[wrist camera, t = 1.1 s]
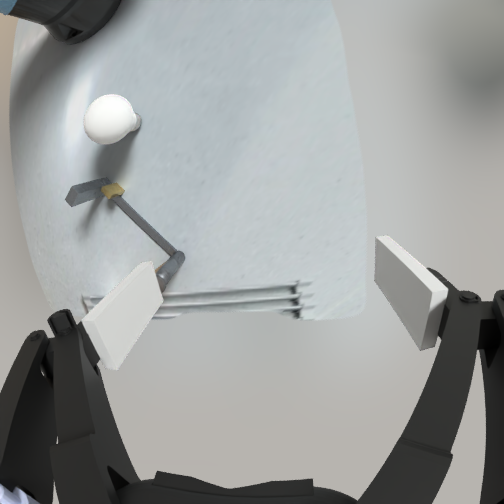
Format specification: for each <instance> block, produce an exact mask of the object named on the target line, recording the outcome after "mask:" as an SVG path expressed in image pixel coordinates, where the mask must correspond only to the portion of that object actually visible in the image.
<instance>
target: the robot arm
mask: <svg viewBox="0 0 504 504" xmlns="http://www.w3.org/2000/svg"><path fill="white" fill-rule="evenodd" d="M120 1H121V0H0V13H3V14H4V15H10V16H14V17H18V18H21V19H25V20H28V21H32V22H35V23H38V24H41V25H44V26H45V28H46V29H47V30H48V31H49V32H50V33H51V34H52V36H53V37H54V38H55V39H56V40H58V41H60V42H63V43H66V44H75V43H79V42H81V41H84V40H86V39H87V38H89V37H91V36H92V35H93V34H95V33H96V32H97V31H98V30H100V29H101V28H102V27H103V26H104V25H105V24H106V23H107V22H108V20H109V19H110V18H111V17H112V15H113V14H114V13H115V11H116V10H117V8H118V6H119V4H120ZM375 248H376V249H375V280H374V281H375V282H376V284H377V285H378V286H379V288H380V289H381V291H382V292H383V294H384V295H385V297H386V298H387V300H388V301H389V302H390V304H391V306H392V307H393V309H394V310H395V312H396V313H397V315H398V316H399V318H400V319H401V321H402V323H403V324H404V326H405V327H406V329H407V330H408V332H409V334H410V335H411V337H412V339H413V340H414V342H415V343H416V345H417V347H418V348H419V350H420V351H421V350H425V349H428V348H432V347H435V344H436V341H437V337H438V336H439V337H440V338H441V343H440V346H439V350H438V353H437V356H436V358H435V361H434V364H433V367H432V369H431V372H430V375H429V377H428V380H427V382H426V385H425V387H424V389H423V392H422V394H421V396H420V399H419V401H418V403H417V405H416V407H415V409H414V411H413V414H412V416H411V418H410V420H409V422H408V424H407V426H406V427H405V429H404V431H403V433H402V435H401V437H400V438H399V440H398V441H397V443H396V445H395V446H394V448H393V450H392V452H391V453H390V455H389V457H388V458H387V460H386V461H385V463H384V465H383V466H382V468H381V469H380V471H379V472H378V474H377V475H376V477H375V478H374V480H373V481H372V482H371V484H370V485H369V487H368V488H367V489H366V491H365V492H364V494H363V495H362V496H361V497H360V499H359V500H358V501H357V500H356V499H354V498H352V497H350V496H348V495H346V494H344V493H341V492H338V491H335V490H331V489H326V488H321V487H313V479H304V480H289V481H270V482H266V483H261V484H257V485H251V486H245V487H240V488H233V489H227V488H223V487H220V486H216V485H213V484H210V483H207V482H204V481H202V480H199V479H196V478H193V477H189V476H183V475H176V474H171V473H166V472H161V471H157V472H156V475H155V478H154V479H149V480H143V481H141V480H140V479H139V478H138V476H137V474H136V472H135V470H134V468H133V465H132V463H131V461H130V458H129V456H128V454H127V452H126V449H125V447H124V444H123V442H122V439H121V436H120V434H119V431H118V428H117V425H116V423H115V420H114V417H113V414H112V411H111V408H110V404H109V401H108V398H107V395H106V391H105V388H104V384H103V380H102V377H101V373H100V369H99V368H98V366H97V363H98V361H99V360H101V362H102V363H103V365H104V367H105V369H111V370H118V369H119V367H120V366H121V364H122V363H123V361H124V360H125V358H126V356H127V355H128V353H129V352H130V350H131V349H132V347H133V346H134V344H135V343H136V341H137V340H138V338H139V336H140V335H141V333H142V332H143V330H144V329H145V328H146V326H147V325H148V323H149V322H150V320H151V319H152V317H153V316H154V314H155V313H156V311H157V310H158V308H159V307H160V305H161V304H162V302H163V297H162V294H161V291H160V288H159V284H158V281H157V277H156V274H155V270H154V267H153V263H152V261H149V262H141V263H140V264H139V265H138V266H137V267H136V268H135V269H134V270H133V271H131V272H130V273H129V274H128V275H127V276H126V277H125V278H124V279H123V280H122V281H121V282H120V283H119V284H118V285H117V286H116V287H114V288H113V289H112V290H111V291H110V292H109V293H108V294H107V295H106V296H105V297H104V298H103V299H102V300H101V301H100V302H99V303H98V304H97V305H96V306H95V307H94V308H93V309H92V310H91V311H90V312H89V313H88V314H87V315H86V316H85V317H84V318H83V319H82V320H81V322H80V323H79V324H78V325H76V322H75V320H74V318H73V316H72V313H71V311H70V310H69V309H63V310H60V311H57V312H55V313H54V314H52V315H51V316H50V317H49V318H48V320H47V321H48V323H49V325H50V327H51V329H52V331H53V333H54V335H55V337H54V338H48V337H47V335H46V333H45V331H44V330H38V331H34V332H32V333H30V335H29V336H28V337H27V338H26V340H25V341H24V343H23V345H22V347H21V349H20V351H19V353H18V355H17V357H16V359H15V361H14V363H13V365H12V367H11V370H10V372H9V374H8V376H7V378H6V381H5V383H4V386H3V388H2V390H1V393H0V504H52V502H53V488H54V486H53V485H54V482H55V487H56V492H57V496H58V500H59V504H432V502H433V500H434V499H435V497H436V495H437V493H438V491H439V489H440V487H441V485H442V483H443V480H444V478H445V476H446V474H447V472H448V469H449V467H450V464H451V461H452V457H453V454H451V449H452V445H453V443H454V440H455V437H456V434H457V432H458V428H459V425H460V422H461V419H462V416H463V412H464V409H465V405H466V401H467V397H468V393H469V389H470V385H471V380H472V376H473V370H474V365H475V359H476V352H477V350H479V352H480V358H481V365H482V373H483V381H484V390H485V391H484V392H485V407H486V450H485V465H484V475H483V483H482V491H481V498H480V504H504V290H499V291H497V292H496V293H495V295H494V299H493V301H490V302H489V301H485V302H482V301H481V298H480V297H479V296H478V295H477V294H475V293H473V292H470V291H459V290H457V289H456V288H455V287H454V286H453V285H452V284H451V283H450V282H449V281H447V280H446V279H445V278H444V277H443V276H442V275H441V274H440V273H439V272H437V271H435V270H433V269H431V268H425V267H424V266H423V265H422V264H420V263H419V262H418V261H417V260H416V259H415V258H414V257H412V256H411V255H410V254H409V253H408V252H407V251H405V250H404V249H403V248H402V247H401V246H399V245H398V244H397V243H396V242H395V241H394V240H392V239H391V238H390V237H389V236H378V237H376V246H375ZM41 371H42V372H43V374H44V376H43V374H42V372H41ZM57 436H58V444H56V442H57Z"/></svg>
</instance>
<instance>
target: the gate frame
mask: <svg viewBox="0 0 504 504" xmlns="http://www.w3.org/2000/svg"><path fill="white" fill-rule="evenodd" d="M124 191H125V190H124V189H123V188H122V187H121V186H120V185H119V184H118V183H113V184H112V183H111V182H110V181H109V180H108V179H107V178H102V179H98V180H94V181H90V182H86V183H82V184H78V185H75V186H72V187H71V189H70V191H69V193H68V195H67V197H66V199H65V200H66V202H67V203H68V204H69V205H70V206H71V207H73V206H76V205H79V204H81V203H84V202H87V201H90V200H92V199H95V198H98V197H101V196H104V195H105V196H106V197H107V198H108V199H111V198H112V199H113V200H114V201H115V202H116V203H117V204H118V205H119V206H120V207H121V208H122V209H123V210H124V211H125V212H126V213H127V214H128V215H129V216H130V217H131V218H132V219H133V220H134V221H135V222H136V223H137V224H138V225H139V226H140V227H141V228H142V229H143V230H144V231H145V232H146V233H147V234H148V235H149V236H150V237H151V238H153V239H154V240H155V241H156V242H157V243H158V244H159V245H160V246H161V247H162V248H163V249H164V250H165V251H166V252H168V253H169V254H170V255H171V257H170V258H169V259H168V260H167V261H166V262H165V263H164V265H163V266H162V267H161V268H160V269H159V270H158V271H157V272H156V275H159V276H161V277H162V278H163V279H164V280H165V283H166V284H167V283H168V281H169V280H170V279H171V277H172V276H173V275H174V273H175V272H176V271H177V270H178V268H179V267H180V266H181V264H182V263H183V262H184V260H185V255H184V253H183V252H181V251H177V250H176V249H175V248H174V247H173V246H172V245H171V244H170V243H169V242H167V241H166V240H165V239H164V238H163V237H162V236H161V235H160V234H159V233H158V232H157V231H156V230H155V229H154V228H153V227H152V226H150V225H149V224H148V223H147V222H146V221H145V220H144V219H143V218H142V217H141V216H140V215H139V214H138V213H137V212H136V211H135V210H134V209H133V208H132V207H131V206H130V205H129V204H128V203H127V202H126V201H125V200H124V199H123V198H122V197H121V196H120V195H122V194H123V193H124Z"/></svg>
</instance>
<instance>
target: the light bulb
mask: <svg viewBox="0 0 504 504" xmlns="http://www.w3.org/2000/svg"><path fill="white" fill-rule="evenodd" d="M141 122H142V119H141V116H140V115H139V114H137V113H134V112H133V109H132V106H131V105H130V103H129V102H128V101H127V100H126V99H125V98H124V97H122V96H120V95H116V94H108V95H104V96H101V97H99V98H97V99H96V100H95V101H93V102H92V103H91V104H90V106H89V107H88V109H87V111H86V113H85V116H84V129H85V132H86V134H87V135H88V137H89V138H90V139H91V140H92V141H94V142H96V143H98V144H104V145H108V144H113V143H115V142H118V141H119V140H121V139H122V138H123V137H124V136H126V134H127V133H128V132H134V131H135V130H137V129H138V128H139V127H140V125H141Z"/></svg>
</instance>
